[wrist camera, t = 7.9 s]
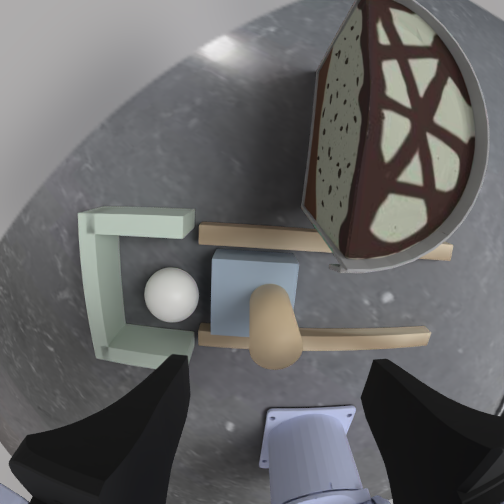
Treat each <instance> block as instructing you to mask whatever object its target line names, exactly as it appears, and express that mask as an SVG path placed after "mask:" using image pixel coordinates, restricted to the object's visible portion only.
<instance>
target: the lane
mask: <svg viewBox="0 0 504 504" xmlns="http://www.w3.org/2000/svg"><path fill="white" fill-rule="evenodd" d="M199 244H203V245H219V246H235V247H251V248H267V249H283V250H298V251H314V252H329V253H332V251H331V250H330V248H329V247H328V245H327V244H326V243H325V241H324V240H323V238H322V237H321V235H320V234H319V233H318V231H317V230H316V229H307V228H294V227H280V226H265V225H250V224H234V223H216V222H202V223H201V224H200V225H199ZM452 249H453V245H452V244H450V243H447V242H445V241H444V242H443V243H442V244H441V245H439V246H438V247H437V248H436V249H434V250H433V251H431V252H430V253H428V254H426V255H424V256H422V257H421V258H419V259H433V260H447V261H450V260H451V255H452ZM299 331H300V335H301V338H302V342H303V350H302V351H340V350H369V349H388V348H402V347H414V346H425V345H427V343H428V341H429V338H430V335H431V332H430V331H429V330H428V329H427V328H426V327H425V326H415V327H392V328H299ZM198 344H199V345H200V346H212V347H224V348H239V349H249V337H238V336H224V335H211V323H201V324H200V327H199V330H198Z"/></svg>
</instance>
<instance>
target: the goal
mask: <svg viewBox="0 0 504 504" xmlns="http://www.w3.org/2000/svg"><path fill="white" fill-rule="evenodd" d="M194 227H195V209H184V208H157V207H117V206H103V207H99V208H95V209H92V210H88V211H84V212H81V213H78V229H79V246H80V259H81V269H82V278H83V287H84V294H85V301H86V308H87V314H88V320H89V326H90V331H91V336H92V341H93V346H94V351H95V355H96V358H97V359H102V360H107V361H112V362H117V363H122V364H128V365H133V366H139V367H145V368H152V369H157V368H158V367H159V366H160V365H161V364H162V363H163V362H164V361H165V360H166V359H167V358H168V357H169V356H170V355H171V354H178V355H187V356H188V365H189V362H190V358H191V355H192V352H193V348H194V345H195V344H194V331H184V330H174V329H165V328H157V327H149V326H141V325H133V324H126V320H125V311H124V302H123V292H122V280H121V266H120V247H119V235H122V236H140V237H158V238H176V239H183V238H184V237H185V236H186V235H187V234H188V233H189V232H190V231H191V230H192V229H193V228H194Z"/></svg>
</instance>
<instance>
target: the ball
mask: <svg viewBox="0 0 504 504" xmlns="http://www.w3.org/2000/svg"><path fill="white" fill-rule="evenodd" d="M144 296H145V302H146V305H147V307H148V309H149V310H150V312H151V313H152V314H153V315H154V316H155V317H157V318H158V319H160V320H162V321H165V322H179V321H182V320H184V319H186V318H188V317H189V316H190V315H191V314H192V313H193V312H194V310H195V309H196V307H197V304H198V300H199V291H198V287H197V284H196V282H195V280H194V279H193V278H192V276H191V275H190V274H188V273H187V272H186V271H184V270H182V269H179V268H174V267H168V268H163V269H161V270H159V271H157V272H155V273H154V274H153V275H152V276H151V277H150V278H149V280H148V282H147V284H146V287H145V293H144Z"/></svg>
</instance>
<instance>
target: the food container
mask: <svg viewBox="0 0 504 504" xmlns="http://www.w3.org/2000/svg"><path fill="white" fill-rule="evenodd" d="M489 145H490V143H489V122H488V115H487V110H486V104H485V100H484V97H483V93H482V90H481V87H480V84H479V81H478V79H477V77H476V74H475V72H474V70H473V68H472V66H471V64H470V62H469V60H468V58H467V57H466V55H465V53H464V52H463V50H462V49H461V47H460V45H459V44H458V42H457V41H456V40H455V39H454V37H453V36H452V35H451V34H450V32H449V31H448V30H447V29H446V28H445V26H444V25H443V24H442V23H441V22H440V21H439V20H438V19H437V18H436V17H435V16H433V15H432V14H431V13H430V12H429V11H428V10H427V9H426V8H424V7H423V6H422V5H420V4H419V3H418V2H416V1H415V0H355V2H354V4H353V5H352V7H351V9H350V11H349V12H348V14H347V16H346V18H345V20H344V21H343V23H342V25H341V27H340V29H339V30H338V32H337V34H336V36H335V38H334V39H333V41H332V43H331V45H330V47H329V49H328V50H327V52H326V54H325V56H324V58H323V60H322V61H321V63H320V65H319V67H318V69H317V71H316V80H315V91H314V101H313V111H312V121H311V130H310V139H309V148H308V157H307V165H306V173H305V181H304V188H303V196H302V203H301V209H302V210H303V212H304V213H305V214H306V216H307V217H308V218H309V220H310V221H311V223H312V224H313V225H314V227H315V228H316V230H317V231H318V233H319V234H320V235H321V237H322V238H323V240H324V241H325V243H326V244H327V245H328V247H329V248H330V250H331V251H332V253H333V254H334V256H335V257H336V259H337V260H338V262H339V263H340V264H329V269H332V270H334V271H337V272H339V273H367V272H374V271H381V270H386V269H391V268H395V267H398V266H401V265H404V264H407V263H410V262H413V261H415V260H417V259H419V258H421V257H422V256H424V255H426V254H428V253H430V252H431V251H433V250H434V249H436V248H437V247H438V246H439V245H441V244H442V243H443V242H444V241H446V240H447V239H448V238H449V237H450V236H451V235H452V234H453V233H454V232H455V231H456V230H457V228H458V227H459V226H460V225H461V224H462V223H463V221H464V220H465V218H466V217H467V215H468V214H469V212H470V210H471V209H472V207H473V206H474V204H475V201H476V199H477V197H478V194H479V192H480V190H481V187H482V184H483V181H484V177H485V173H486V169H487V164H488V155H489Z"/></svg>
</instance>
